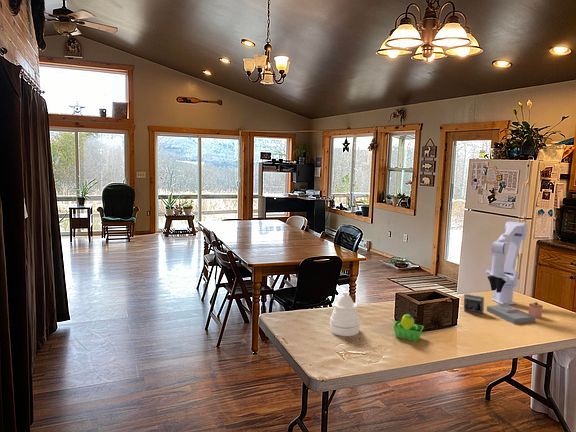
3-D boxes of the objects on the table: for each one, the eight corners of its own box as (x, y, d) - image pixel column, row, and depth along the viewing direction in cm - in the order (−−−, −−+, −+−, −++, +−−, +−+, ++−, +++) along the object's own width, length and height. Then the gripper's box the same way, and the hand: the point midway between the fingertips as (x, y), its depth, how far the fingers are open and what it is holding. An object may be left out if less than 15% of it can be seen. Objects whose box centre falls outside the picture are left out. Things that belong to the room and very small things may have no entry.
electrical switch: (483, 312, 218) (484, 295, 216) (481, 316, 214) (483, 298, 212) (464, 308, 223) (464, 291, 221) (461, 312, 219) (462, 295, 217)
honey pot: (358, 337, 186) (360, 296, 183) (328, 334, 188) (329, 294, 186) (359, 326, 198) (361, 287, 196) (331, 323, 201) (332, 285, 198)
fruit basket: (423, 337, 187) (425, 311, 186) (418, 344, 179) (419, 318, 178) (397, 331, 193) (398, 306, 191) (391, 338, 185) (392, 312, 184)
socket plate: (486, 310, 221) (487, 306, 220) (506, 309, 224) (506, 304, 223) (513, 324, 203) (514, 318, 203) (534, 321, 207) (535, 316, 206)
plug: (528, 315, 215) (529, 301, 214) (534, 314, 217) (536, 300, 216) (534, 318, 212) (536, 304, 211) (541, 317, 213) (542, 303, 212)
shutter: (497, 308, 217) (497, 303, 217) (507, 307, 219) (508, 302, 219) (506, 312, 211) (507, 308, 211) (517, 311, 213) (518, 307, 213)
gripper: (481, 262, 226) (479, 287, 228) (502, 269, 212) (500, 296, 214) (492, 261, 228) (490, 286, 230) (514, 268, 214) (511, 295, 216)
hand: (496, 291), depth 222 cm, fingers open, 3 cm apart
